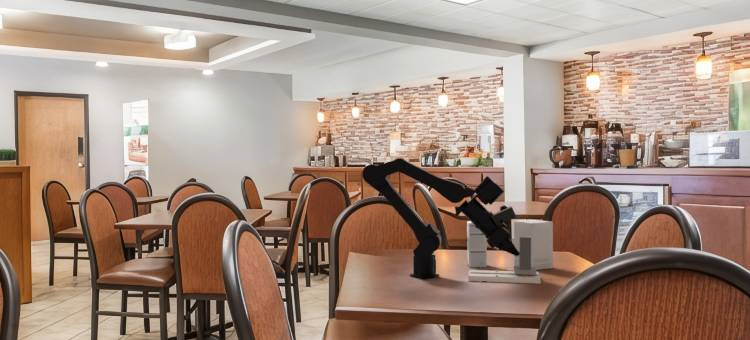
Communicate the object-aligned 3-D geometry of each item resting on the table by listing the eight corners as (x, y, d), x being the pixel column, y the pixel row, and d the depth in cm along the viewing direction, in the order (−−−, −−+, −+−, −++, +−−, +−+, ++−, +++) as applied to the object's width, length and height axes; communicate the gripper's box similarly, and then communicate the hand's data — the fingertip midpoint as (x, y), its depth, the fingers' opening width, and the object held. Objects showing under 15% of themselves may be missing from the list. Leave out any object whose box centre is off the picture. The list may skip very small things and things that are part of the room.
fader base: (468, 281, 169) (468, 274, 169) (469, 274, 178) (469, 268, 178) (540, 283, 165) (540, 277, 165) (537, 277, 174) (537, 271, 174)
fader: (514, 274, 168) (514, 237, 168) (513, 270, 174) (513, 234, 174) (536, 275, 167) (536, 237, 167) (534, 271, 173) (534, 235, 173)
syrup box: (487, 267, 190) (487, 222, 190) (468, 267, 190) (468, 222, 190) (484, 264, 196) (484, 220, 195) (466, 264, 196) (466, 220, 195)
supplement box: (554, 268, 188) (554, 221, 187) (531, 271, 184) (531, 222, 184) (534, 264, 196) (534, 218, 196) (513, 266, 192) (513, 220, 192)
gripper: (500, 199, 162) (541, 240, 160) (499, 194, 181) (536, 231, 179) (471, 227, 164) (511, 268, 162) (472, 220, 182) (509, 257, 180)
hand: (518, 254), depth 171 cm, fingers closed, pressing on fader
